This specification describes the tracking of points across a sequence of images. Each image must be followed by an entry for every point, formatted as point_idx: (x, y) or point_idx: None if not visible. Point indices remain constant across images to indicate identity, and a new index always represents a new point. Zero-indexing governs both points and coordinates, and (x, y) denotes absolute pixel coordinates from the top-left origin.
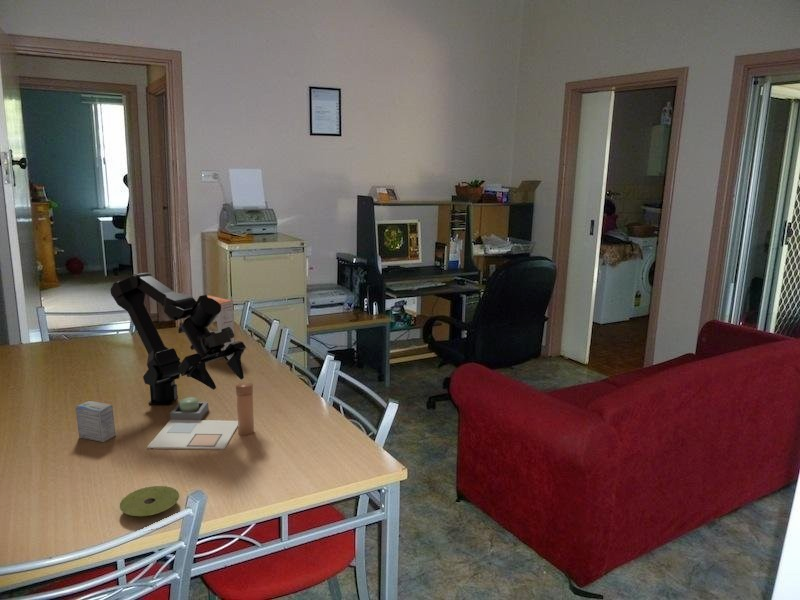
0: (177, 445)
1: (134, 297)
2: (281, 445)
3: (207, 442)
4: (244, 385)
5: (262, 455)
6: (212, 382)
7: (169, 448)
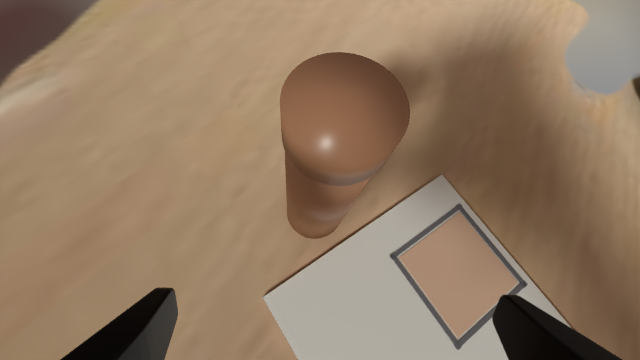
0: None
1: None
2: None
3: (461, 246)
4: (346, 101)
5: None
6: (567, 331)
7: None
